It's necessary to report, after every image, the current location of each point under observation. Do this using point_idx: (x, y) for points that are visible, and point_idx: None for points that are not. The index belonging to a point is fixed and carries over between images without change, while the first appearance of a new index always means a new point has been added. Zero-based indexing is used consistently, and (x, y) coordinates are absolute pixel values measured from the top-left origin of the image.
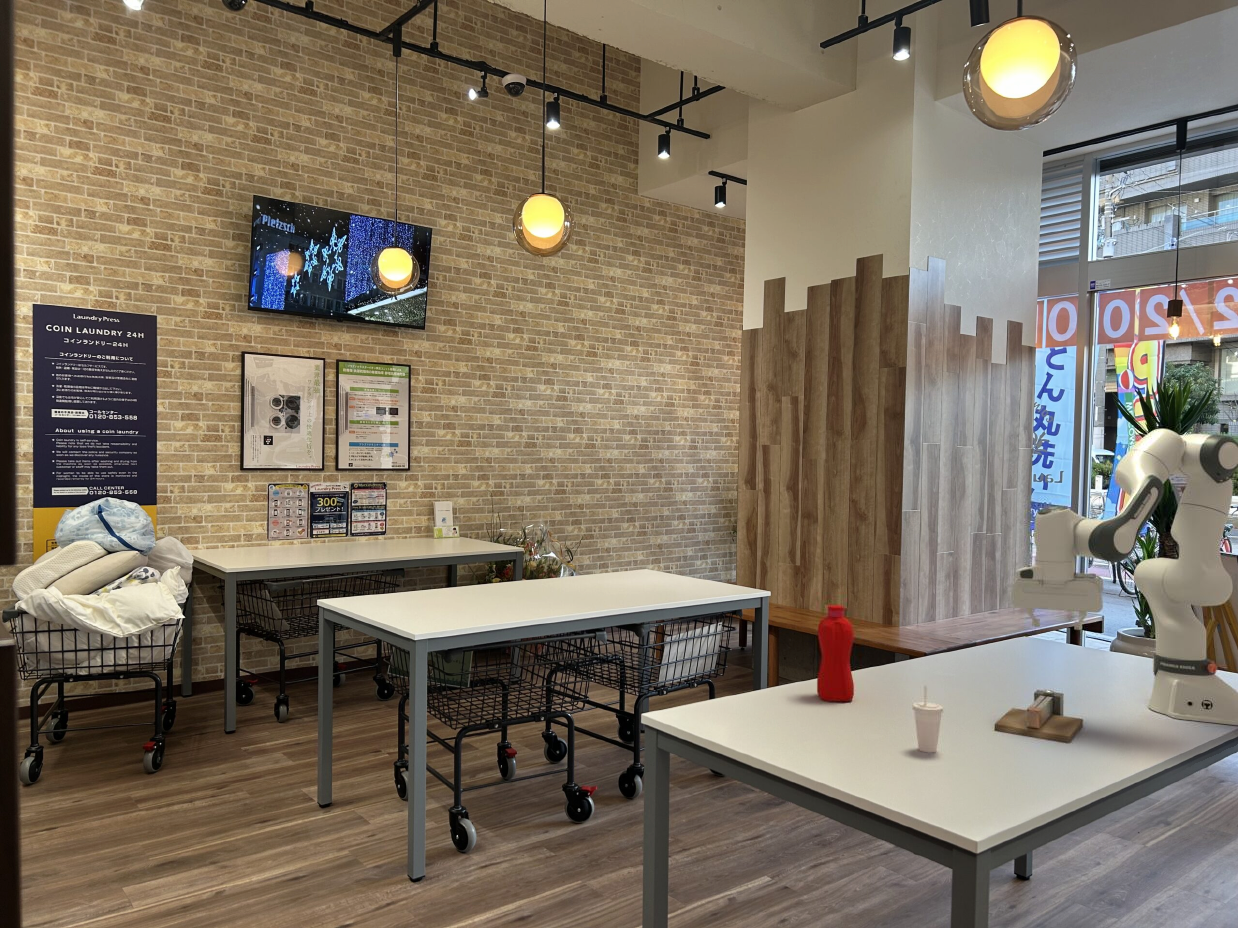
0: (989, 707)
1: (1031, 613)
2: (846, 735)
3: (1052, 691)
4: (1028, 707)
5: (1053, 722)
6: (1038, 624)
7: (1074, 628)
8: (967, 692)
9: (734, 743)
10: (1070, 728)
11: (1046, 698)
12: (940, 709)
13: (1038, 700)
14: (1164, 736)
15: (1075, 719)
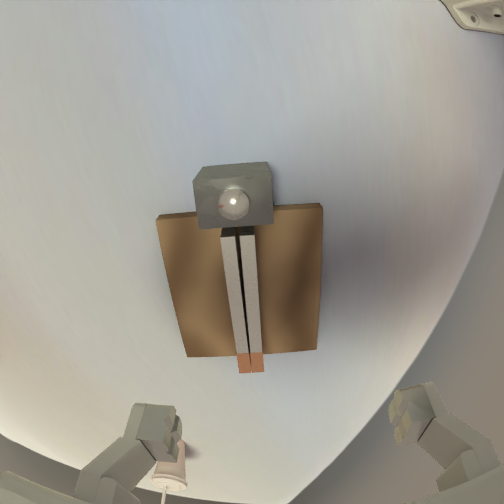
0: (101, 196)
1: (125, 485)
2: (94, 434)
3: (245, 205)
4: (238, 362)
5: (272, 282)
6: (180, 437)
7: (390, 415)
8: (21, 101)
9: (74, 464)
10: (311, 303)
11: (244, 260)
12: (186, 487)
13: (234, 294)
14: (457, 186)
15: (309, 225)
